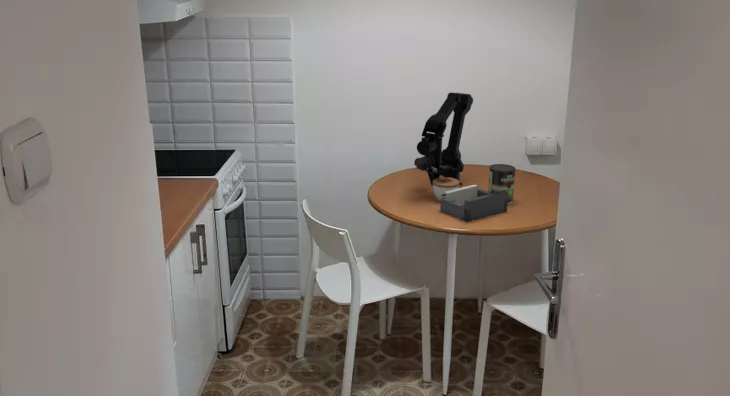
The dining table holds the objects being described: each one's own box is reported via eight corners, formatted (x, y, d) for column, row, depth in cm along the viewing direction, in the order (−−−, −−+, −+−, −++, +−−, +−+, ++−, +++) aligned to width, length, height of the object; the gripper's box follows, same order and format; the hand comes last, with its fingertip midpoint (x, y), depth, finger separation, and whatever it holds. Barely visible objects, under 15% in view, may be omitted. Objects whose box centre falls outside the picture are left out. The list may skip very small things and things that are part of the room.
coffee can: (518, 202, 284) (521, 169, 279) (497, 206, 279) (500, 172, 274) (502, 195, 292) (504, 162, 288) (481, 199, 288) (483, 165, 283)
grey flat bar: (473, 198, 285) (474, 184, 283) (477, 200, 284) (477, 185, 282) (439, 207, 275) (440, 192, 273) (442, 208, 274) (443, 194, 272)
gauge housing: (479, 200, 286) (480, 181, 283) (506, 211, 274) (508, 191, 272) (440, 210, 274) (440, 191, 272) (466, 222, 263) (467, 202, 260)
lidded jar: (447, 193, 294) (448, 171, 291) (464, 200, 286) (465, 178, 283) (426, 198, 289) (427, 176, 286) (443, 205, 280) (444, 183, 277)
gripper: (404, 147, 289) (403, 183, 295) (434, 158, 275) (432, 195, 280) (425, 143, 295) (424, 178, 301) (455, 153, 281) (453, 190, 286)
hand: (432, 186), depth 292 cm, fingers closed
